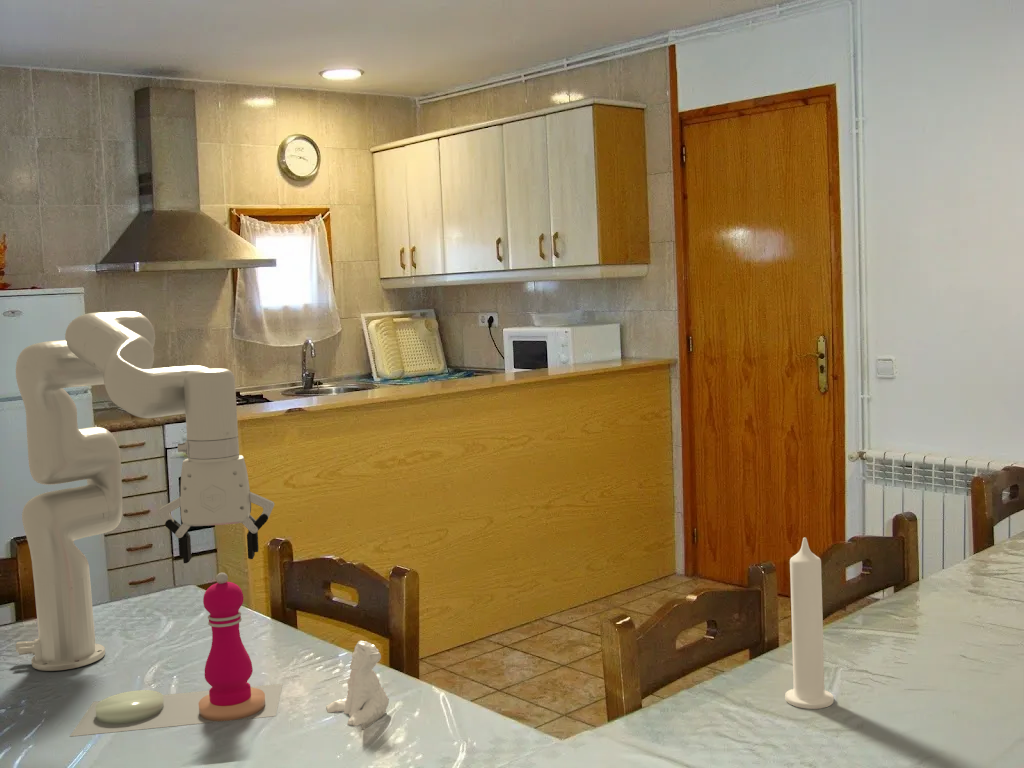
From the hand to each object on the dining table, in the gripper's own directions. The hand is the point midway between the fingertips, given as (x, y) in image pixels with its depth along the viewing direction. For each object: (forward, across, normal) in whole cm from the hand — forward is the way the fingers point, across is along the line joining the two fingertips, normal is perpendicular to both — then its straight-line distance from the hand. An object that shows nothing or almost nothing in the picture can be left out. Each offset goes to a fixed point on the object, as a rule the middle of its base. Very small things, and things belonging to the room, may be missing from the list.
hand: (219, 559), depth 163 cm
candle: (+23, +88, -18) cm, 93 cm away
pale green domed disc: (+24, -15, +2) cm, 28 cm away
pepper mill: (+22, 0, -1) cm, 22 cm away
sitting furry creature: (+25, +21, -7) cm, 33 cm away
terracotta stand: (+24, +1, -1) cm, 24 cm away
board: (+25, -7, +1) cm, 26 cm away
